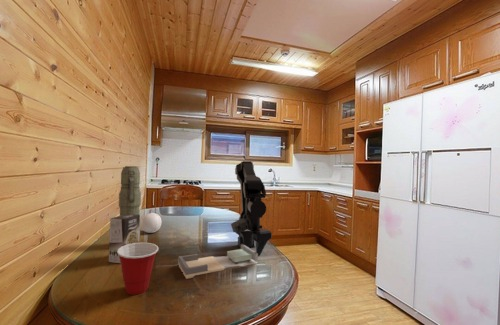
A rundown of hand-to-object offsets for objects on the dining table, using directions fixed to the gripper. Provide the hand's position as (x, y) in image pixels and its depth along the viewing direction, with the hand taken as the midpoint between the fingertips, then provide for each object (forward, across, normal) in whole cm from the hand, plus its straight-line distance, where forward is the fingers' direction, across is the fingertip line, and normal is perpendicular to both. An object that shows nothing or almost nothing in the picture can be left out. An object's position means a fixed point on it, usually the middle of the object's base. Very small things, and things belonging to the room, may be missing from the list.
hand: (252, 252), depth 96 cm
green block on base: (+2, 0, -6) cm, 6 cm away
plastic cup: (+3, +6, -41) cm, 42 cm away
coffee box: (+3, -22, -44) cm, 49 cm away
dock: (+2, 0, -15) cm, 15 cm away
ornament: (+3, -57, -30) cm, 64 cm away
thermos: (+3, -39, -41) cm, 57 cm away
